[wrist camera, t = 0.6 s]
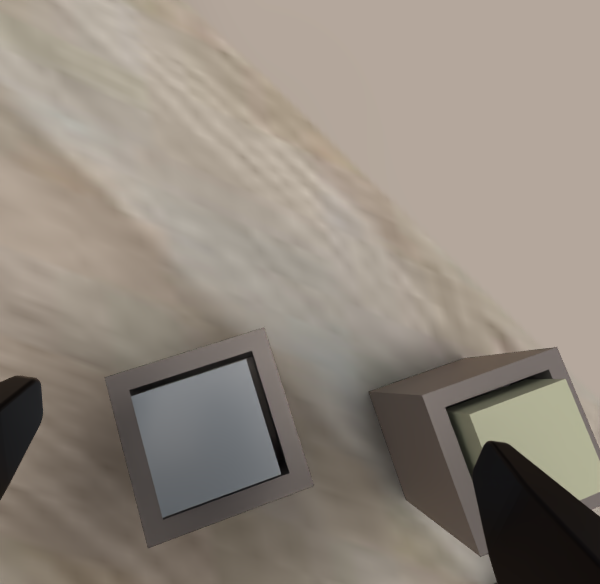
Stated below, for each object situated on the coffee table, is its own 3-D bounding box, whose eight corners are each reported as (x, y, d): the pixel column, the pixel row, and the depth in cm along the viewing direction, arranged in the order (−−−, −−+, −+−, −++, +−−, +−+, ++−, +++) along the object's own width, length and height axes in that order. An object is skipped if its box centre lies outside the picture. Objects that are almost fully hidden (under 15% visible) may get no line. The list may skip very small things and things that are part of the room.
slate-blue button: (277, 461, 18) (281, 474, 15) (175, 498, 17) (162, 517, 15) (247, 362, 18) (246, 359, 16) (147, 394, 18) (130, 396, 15)
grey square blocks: (625, 662, 24) (814, 804, 16) (277, 835, 21) (291, 1114, 13) (472, 277, 28) (564, 233, 19) (153, 379, 25) (104, 377, 16)
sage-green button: (564, 474, 19) (610, 487, 16) (477, 509, 18) (512, 528, 16) (526, 379, 19) (565, 378, 17) (441, 410, 19) (469, 414, 16)
